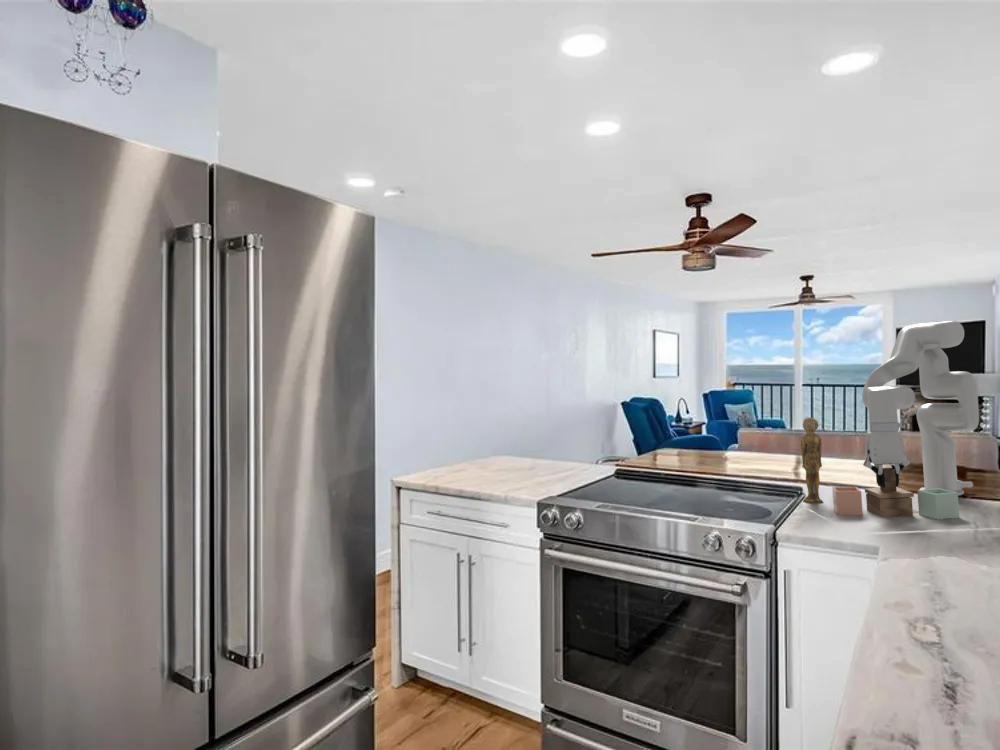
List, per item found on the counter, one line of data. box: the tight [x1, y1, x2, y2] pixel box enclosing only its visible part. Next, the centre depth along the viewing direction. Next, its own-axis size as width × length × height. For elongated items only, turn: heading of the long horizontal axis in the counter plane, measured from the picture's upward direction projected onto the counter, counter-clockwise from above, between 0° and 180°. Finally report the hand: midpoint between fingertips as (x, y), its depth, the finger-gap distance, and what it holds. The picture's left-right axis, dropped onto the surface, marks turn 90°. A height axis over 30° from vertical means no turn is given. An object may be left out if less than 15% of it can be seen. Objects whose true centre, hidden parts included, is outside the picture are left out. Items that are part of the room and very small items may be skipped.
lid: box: [864, 466, 915, 499], centre depth 190 cm, size 10×10×8 cm
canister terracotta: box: [832, 486, 864, 516], centre depth 194 cm, size 7×7×8 cm
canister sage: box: [916, 488, 960, 520], centre depth 183 cm, size 7×7×8 cm
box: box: [865, 492, 914, 518], centre depth 190 cm, size 9×9×6 cm
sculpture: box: [800, 417, 824, 505], centre depth 210 cm, size 7×6×30 cm
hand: (888, 485), depth 190 cm, fingers closed on lid, 3 cm apart
